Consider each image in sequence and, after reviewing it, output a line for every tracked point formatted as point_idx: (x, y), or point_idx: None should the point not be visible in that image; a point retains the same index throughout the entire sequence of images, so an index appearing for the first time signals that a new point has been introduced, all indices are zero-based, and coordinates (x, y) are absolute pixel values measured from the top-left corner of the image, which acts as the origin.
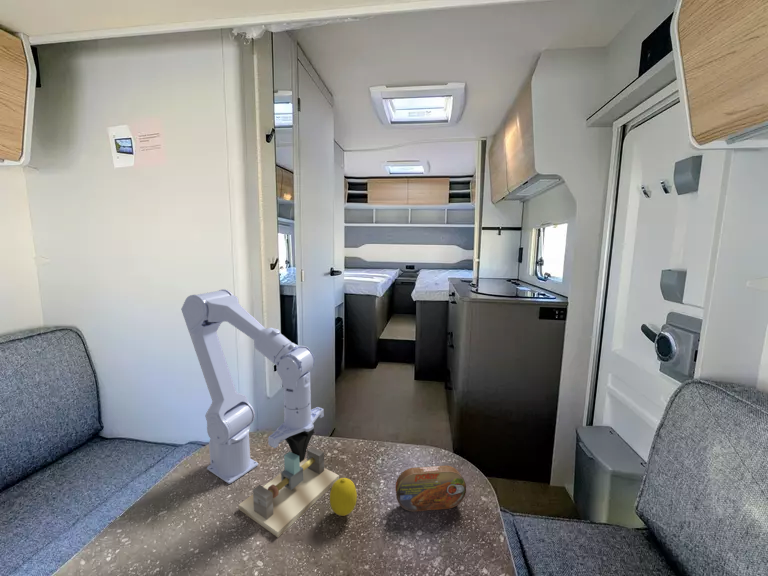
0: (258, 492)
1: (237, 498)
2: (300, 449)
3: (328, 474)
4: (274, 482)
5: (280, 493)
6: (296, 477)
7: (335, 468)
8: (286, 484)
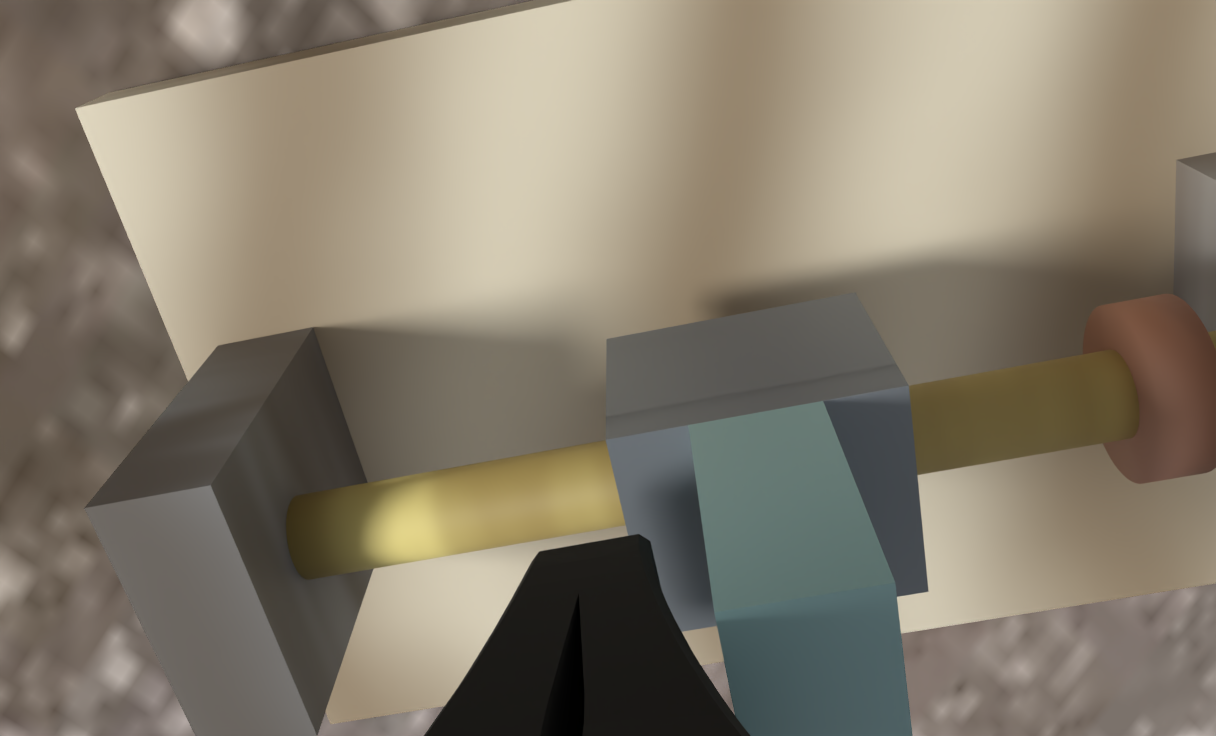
0: None
1: (1167, 668)
2: (698, 727)
3: (205, 239)
4: None
5: None
6: (758, 373)
7: (47, 313)
8: None
